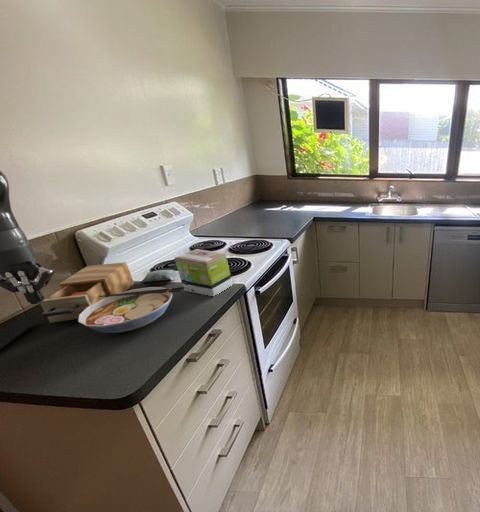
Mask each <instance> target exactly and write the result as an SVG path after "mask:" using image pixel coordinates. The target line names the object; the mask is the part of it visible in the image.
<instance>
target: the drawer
mask: <svg viewBox="0 0 480 512" xmlns="http://www.w3.org/2000/svg"><path fill="white" fill-rule="evenodd" d="M85 291H87V292H86V293H84V295H76V296H71V295H72V294H73V293H77V292H85ZM102 295H108V292H107V290H106V287H105V285H104V283H103V281H99V282H90V283H81V284H72V285H67V286H65V287H64V288H61V289H59V290H58V291H55V292H54V293H53V294H51V295H50V296H48V298H44V299H43V301H42V302H41V303H39V304H40V307H41V308H42V310H43V312H42V313H41V316H42V317H43V318H46V317H47V320H48V321H49V323H56V322H63V321H70V320H78V319H79V315H80V314H81V313H82V312H83V311H84V310H85V309H86V308H87V307H89V306H91V305H92V304H94V303H96V302H98V301H100V300H102V299H105V298H107V297H99V296H102ZM108 297H109V296H108Z"/></svg>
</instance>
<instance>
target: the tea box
mask: <svg viewBox="0 0 480 512" xmlns="http://www.w3.org/2000/svg"><path fill="white" fill-rule="evenodd" d="M174 262H175V265H176V269H177V271H178V272H179V274H178V276H179V278H180V281H181V286H182V287H184V289H183V290H184V292H189V293H192V294H198V295H202V296H207V295H208V297H211V296H213V297H212V298H215V297H216V296H215V295H217V294H218V295H220V294H222V293H223V292H225V291H227V290H228V289H230V288H231V287H233V286H232V285H234V284H233V279H232V275H231V271H230V266H229V262H228V256H227V253H225V252H220V251H212V250H207V249H199V248H195V249H192V250H190V251H188V252H185V253H183V254H180V255H178V256H175V257H174ZM230 286H231V287H230ZM229 287H230V288H229ZM227 288H228V289H227ZM226 289H227V290H226ZM224 290H225V291H224ZM222 291H223V292H222ZM221 292H222V293H221ZM219 293H220V294H219ZM218 295H217V296H218ZM214 296H215V297H214Z"/></svg>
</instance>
